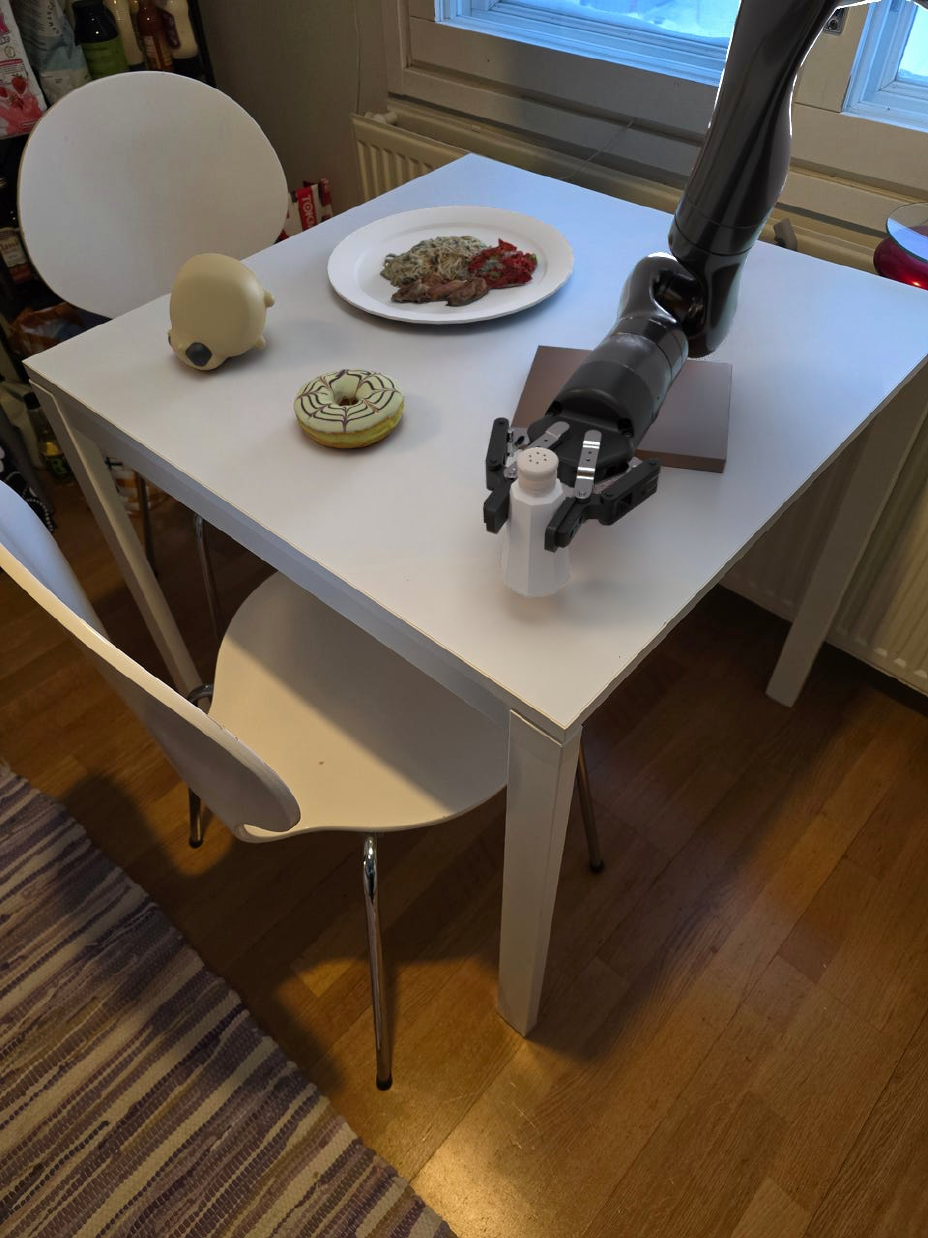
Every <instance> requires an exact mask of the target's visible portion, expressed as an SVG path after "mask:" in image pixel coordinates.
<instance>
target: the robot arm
mask: <svg viewBox="0 0 928 1238" xmlns="http://www.w3.org/2000/svg"><path fill="white" fill-rule="evenodd" d="M879 1H880V0H739V5H738V9H737V13H736V17H735V21H734V24H733V28H732V32H731V36H730V41H729V45H728V49H727V53H726V59H725V63H724V66H723V71H722V74H721V79H720V83H719V88H718V91H717V95H716V100H715V104H714V108H713V111H712V114H711V118H710V121H709V124H708V127H707V129H706V130H707V131H706V134H705V136H704V139H703V141H702V144H701V147H700V150H699V152H698V156H697V158H696V160H695V163H694V165H693V166H694V167H693V166H692V168H693V170H692V169H691V172H690V175H689V177H688V180H687V182H686V185H685V186H684V189H683V192H682V194H681V196H680V198H679V201H678V203H677V206H676V208H675V210H674V212H673V216H672V218H671V221H670V223H669V227H668V231H667V235H666V239H667V241H666V242H667V247H668V249H669V251H670V254H668V253H664V252H656V253H651V254H648V255H645V256H644V257H642V258H641V259H639V260H638V261H637V262H636V263H635V264H634V265H633V266H632V268H631V269H630V271H629V272H628V274H627V276H626V278H625V280H624V283H623V286H622V289H621V293H620V296H619V300H618V306H617V313H616V318H615V322H614V324H613V326H612V327H611V328H610V330H609V331H608V332H607V334H606V335H605V336H604V338H603V339H602V340H601V341H600V343H599V344H598V345H597V346H596V347H595V348H594V349H593V351H592V352H591V353H590V354H589V355H588V356H587V357H586V358H585V359H584V360H583V362H582V363H581V364H580V365H579V367H578V368H577V369H576V371H575V372H574V373H573V375H572V376H571V377H570V378H569V380H568V381H567V382H566V384H565V385H564V386H563V388H562V389H561V390H560V392H559V393H558V394H557V395H556V397H555V398H554V399H553V401H552V402H551V404H550V406H549V407H548V409H547V411H546V413H545V415H544V416H543V417H542V418H540V419H539V420H536V421H534V422H532V423H531V424H530V425H529V427H528V428H520V427H510V420H509V419H508V418H507V417H501V416H500V417H497V418H495V419H494V420H493V423H492V426H491V427H492V428H491V432H490V436H489V437H490V438H489V441H488V446H487V450H486V451H487V452H486V456H485V460H484V462H485V463H484V464H485V487H486V489H487V490H488V491H489V492H490V493H489V495H488V496H487V498H486V499H485V500H484V501H483V505H482V506H483V507H482V514H483V515H482V517H483V524H485V531H486V532H488V533H491V534H494V535H498V533H500V531H501V530H502V528H503V527H504V525H506V521H507V519H508V510H509V496H510V488H511V484H513V483H514V482H515V481H516V480H517V479H518V467H517V460H515V461H514V462H513V463H511V464H510V465H509V466H507V463H508V458H513V457H514V455H515V453H516V452H517V451H518V450H519V447H520V446H521V445H527V446H528V447H526V448H525V449H522V452H523V451H525V450H527V449H530V448H536V447H539V448H546V449H548V450H551V451H552V452H554V453H555V454H556V456H557V457H558V460H559V462H558V467H557V478H558V479H559V480H560V483H561V484H563V485H564V486H567V487H569V488H572V489H573V492H572V496H571V497H570V496H565V497H564V501H563V503H562V504H561V506H560V507H559V509H558V510H557V512H556V513H555V515H554V516H553V518H552V519H551V521H550V522H549V524H548V525H547V527H546V530H545V540H544V550H546V551H550V552H553V553H555V552H556V551H557V549H558V547H561V548H565V547H566V546H568V547H569V545H570V544H571V542H572V541H573V539H574V538H575V536H576V534H577V533H578V531H579V530H580V528H581V527H582V525H584V524H586V523H587V522H588V521H590V520H591V521H592V520H595V521H596V520H597V521H598V523H599V524H600V525H601V526H605V527H610V526H612V525H614V524H615V523H617V522H618V521H619V520H620V519H622V518H624V517H625V516H627V515H628V514H629V513H630V512H631V511H633V510H634V509H636V508H637V507H638V506H640V505H641V504H643V502H645V501H647V500H648V499H649V498H650V497H653V495H654V494H656V493H657V491H658V488H659V483H660V477H661V469H662V465H661V461H660V460H659V459H656V458H648V459H646V460H645V461H642V460H640V459H638V458H636V457H634V452H635V450H636V449H637V447H638V445H639V444H640V442H641V441H642V439H643V437H644V436H645V434H646V432H647V431H648V429H649V428H650V426H651V424H653V423H654V422H655V421H656V419H657V417H658V415H659V411H660V410H661V408H662V406H663V403H664V401H665V398H666V395H667V393H668V391H669V390H670V388H671V386H672V385H673V383H674V382H675V380H676V378H677V377H678V375H679V374H680V372H681V370H682V369H683V367H684V365H685V363H686V360H687V359H691V360H697V359H701V358H705V357H708V356H709V355H711V354H712V353H714V352H715V351H716V350H718V349H719V348H720V347H721V346H722V345H723V343H724V342H725V341H726V339H727V337H728V336H729V334H730V331H731V329H732V327H733V323H734V321H735V318H736V313H737V308H738V303H739V298H740V291H741V285H742V279H743V276H744V271H745V267H746V264H747V261H748V259H749V256H750V253H751V252H752V250H753V248H754V246H755V244H756V242H757V240H758V239H759V236H760V235H761V233H762V231H763V229H764V227H765V225H766V224H767V221H768V220H769V218H770V216H771V214H772V213H773V211H774V209H775V207H776V205H777V203H778V200H779V199H780V196H781V194H782V192H783V189H784V187H785V185H786V182H787V179H788V174H789V171H790V164H791V158H792V122H791V104H792V97H793V90H794V86H795V82H796V80H797V77H798V74H799V72H800V70H801V67H802V65H803V63H804V61H805V59H806V57H807V55H808V53H809V52H810V50H811V48H812V47H813V45H814V43H815V42H816V40H817V38H818V36H820V34H821V32H822V30H823V28H824V27H825V26H826V24H827V22H829V20H830V18H832V15H833V14H834V13H835V11H836V10H837V9H840V8H845V7H852V6H858V5H863V4H867V3H873V2H879ZM907 1H909V2H911V3H914V4H916V5H918V6H919V7H921V8H923V9H924V10H926V11H928V0H907ZM615 478H618V479H617V480H615V481H613V482H612V483H610V485H608V486H607V487H605V488H604V489H602V490H601V491H600V492H596V487H597V485H599V484H603V483H605V482H608V481H611V480H613V479H615Z"/></svg>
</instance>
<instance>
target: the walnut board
mask: <svg viewBox="0 0 928 1238" xmlns="http://www.w3.org/2000/svg"><path fill="white" fill-rule="evenodd" d="M593 350H594V349H593ZM593 350H592V349H585V348H584V349H583V348H571V347H562V346H553V345H552V346H551V345H541V344H538V345H537V348H536V351H535V354H534V357H533V360H532V363H531V365H530V369H529V371H528V374H527V377H526V380H525V383H524V386H523V389H522V392H521V394H520V397H519V400H518V403H517V406H516V409H515V411H514V412H515V413H514V415H513V417H512V421H511V424H510V425H509V427H520V428H528V427H529V425H530V424H531V423H532V422H534V421H536V420H539V419H540V418H542V417H543V416H544V415H545V413H546V411H547V409H548V407H549V406H550V404H551V402H552V401H553V399H554V398H555V397H556V395H557V394H558V393H559V392H560V390H561V389H562V388H563V386H564V385H565V384H566V382H567V381H568V380H569V378H570V377H571V376H572V375H573V373H574V372H575V371H576V369H577V368H578V367H579V365H580V364H581V363H582V362H583V360H584V359H585V358H586V357H587V356H588V355H589V354H590V353H591V352H592V351H593ZM732 374H733V363H730V362H721V361H710V360H699V359H690V358H687V360H686V363H685V365H684V367H683V369H682V370H681V372H680V374H679V375H678V377H677V378H676V380H675V382H674V383H673V385H672V386H671V388H670V390H669V391H668V393H667V395H666V398H665V401H664V403H663V406H662V408H661V410H660V411H659V415H658V417H657V419H656V421H655V422H654V423H653V424H651V426H650V428H649V429H648V431H647V432H646V434H645V436H644V437H643V439H642V441H641V442H640V444H639V445H638V447H637V449H636V450H635V452H634V457H636V458H638V459H640V460H642V461H645V460H646V459H648V458H656V459H659V460H660V461H661V467H670V468H671V467H672V468H679V469H688V470H697V471H704V472H714V473H721V474H722V473H724V472H725V471H724V470H725V467H726V462H727V455H728V454H727V453H728V439H729V436H728V435H729V424H730V423H729V422H730V406H731V392H732V391H731V390H732V376H733V375H732ZM526 447H528V446H527V445H521V446H520V447H519V448H518V450H524V449H525V448H526Z"/></svg>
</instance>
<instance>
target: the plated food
mask: <svg viewBox="0 0 928 1238" xmlns="http://www.w3.org/2000/svg"><path fill="white" fill-rule="evenodd" d="M574 263H575V254H574V250H573V246H572V244H571V243H570V241H569V240H568V239H567V237H566V235H564V234H563V233H562V232H561V231H559V230H558V229H557V228H555V226H553V225H551V224H549V223H548V222H545V221H544V220H541V219H539V218H537V217H535V216H534V217H533V216H532V215H528V214H526V213H523V212H519V211H515V210H510V209H506V208H500V207H491V206H483V205H463V204H462V205H461V204H459V205H458V204H457V205H439V206H431V207H424V208H417V209H411V210H407V211H403V212H398V213H394V214H391V215H389V216H385V217H383V218H380V219H376V220H374V221H372V222H370V223H368V224H366V225H363V226H362V227H358V228H357V229H356V230H355V231H353V232H351V233H350V234H348V235H346V236H345V237H344V238H343V239H342V240H341V241H340V242H339V243H338V244H337V245H336V246H335V247H334V249H333V251H332V252H331V254H330V256H329V257H328V261H327V268H326V270H327V275H328V279H329V280H328V281H329V284H330V285H331V287H332V288H333V289H334V291H335V292H336V294H337V295H339V296H340V297H341V298H342V299H344V300H345V301H346V302H347V303H349V304H350V305H352V306H354V307H355V308H358V309H360V310H362V311H364V312H366V313H369V314H372V315H375V316H378V317H382V318H385V319H388V320H393V321H401V322H406V323H411V324H426V325H427V324H428V325H449V324H450V325H451V324H452V325H453V324H467V323H474V322H481V321H487V320H492V319H497V318H501V317H504V316H508V315H512V314H516V313H518V312H521V311H524V310H525V309H526V310H527V309H528V308H531V307H534V306H536V305H537V304H539V303H541V302H543V301H544V300H546V299H547V298H549V297H551V296H552V295H554V294H556V292H557V291H558V290H559V289H560V288H562V287H563V286H564V285H565V284H566V282H567V281H568V279H569V278H570V276H571V274H572V272H573V268H574Z"/></svg>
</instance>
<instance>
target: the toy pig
mask: <svg viewBox="0 0 928 1238" xmlns="http://www.w3.org/2000/svg"><path fill="white" fill-rule="evenodd" d="M275 303H276V299H275V297H274V295H273V294H272V293H270V292H269V291H267V290H266V289H264V288H263V286H262V284H261V281H260V280H259V279H258V277H257V275H255V272H253V271H252V270H251V268H249V267H248V266H247V265H245V264H244V263H242V261H239V260H238V259H236V258H233V257H231V256H228V255H224V254H221V253H214V252H213V253H211V252H209V253H208V252H207V253H201V254H200V253H199V254H197V255H194V256H193V257H191V258H189V259H188V260H187V261H186V262H185V263H184V264H183V265H182V266H181V268H180V269H179V271H178V272H177V275H176V277H175V279H174V282H173V285H172V289H171V293H170V298H169V319H170V323H171V324H170V325H171V329H169V330H168V331H167V335H168V336H167V341H168V344H169V346H170V347H171V348H172V351H173V353H174V354H175V356H176V357H177V358H178V359H179V360H180V361H182V362H183V363H184V364H186V365H187V366H190V367H191V368H194V369H197V370H199V371H200V370H201V371H210V370H214V369H216V368H218V367H219V366H221V365H222V364H223V363H224V362H225V361H226V360H227V359H228V358H232V357H237V356H240V355H242V354H245V353H246V352H248V351H250V350H251V349H255V350H257V351H260V350H263V349H264V348H265V346H266V340H265V338H264V336H263V331H264V328H265V324H266V320H267V312H268V311H267V309H268V308H272V307H273V306H274V305H275Z"/></svg>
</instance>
